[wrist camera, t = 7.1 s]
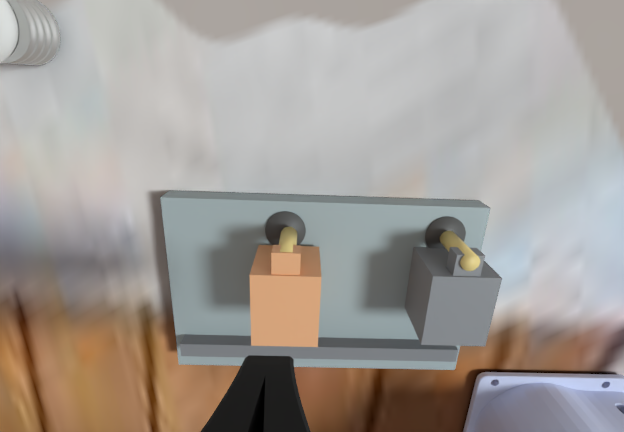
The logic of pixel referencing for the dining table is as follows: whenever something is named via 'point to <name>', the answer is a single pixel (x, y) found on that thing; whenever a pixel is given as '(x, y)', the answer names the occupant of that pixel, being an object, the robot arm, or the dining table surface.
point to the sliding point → (285, 293)
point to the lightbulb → (27, 33)
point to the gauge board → (334, 276)
